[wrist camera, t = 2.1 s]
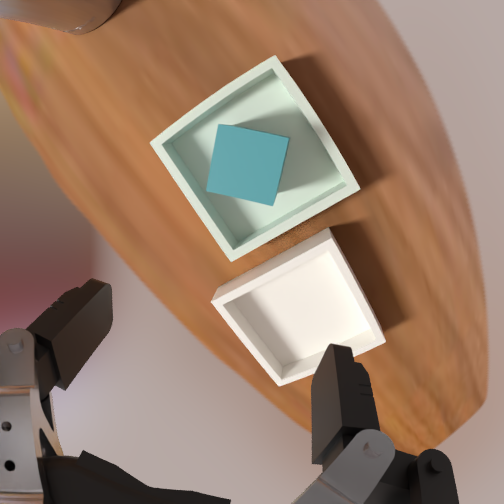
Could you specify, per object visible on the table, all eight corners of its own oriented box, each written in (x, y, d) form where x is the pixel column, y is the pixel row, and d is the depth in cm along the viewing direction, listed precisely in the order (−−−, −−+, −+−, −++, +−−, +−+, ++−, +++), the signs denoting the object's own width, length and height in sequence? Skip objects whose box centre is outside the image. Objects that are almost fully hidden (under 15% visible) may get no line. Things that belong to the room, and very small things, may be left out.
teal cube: (221, 180, 27) (206, 191, 22) (232, 125, 25) (218, 123, 20) (277, 193, 27) (273, 206, 22) (290, 137, 25) (288, 138, 20)
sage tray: (163, 141, 27) (149, 142, 24) (277, 63, 23) (275, 55, 20) (237, 249, 30) (231, 262, 27) (354, 183, 26) (360, 189, 23)
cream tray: (218, 287, 32) (210, 301, 29) (328, 227, 28) (331, 237, 25) (280, 368, 35) (278, 386, 32) (380, 325, 31) (386, 341, 28)
